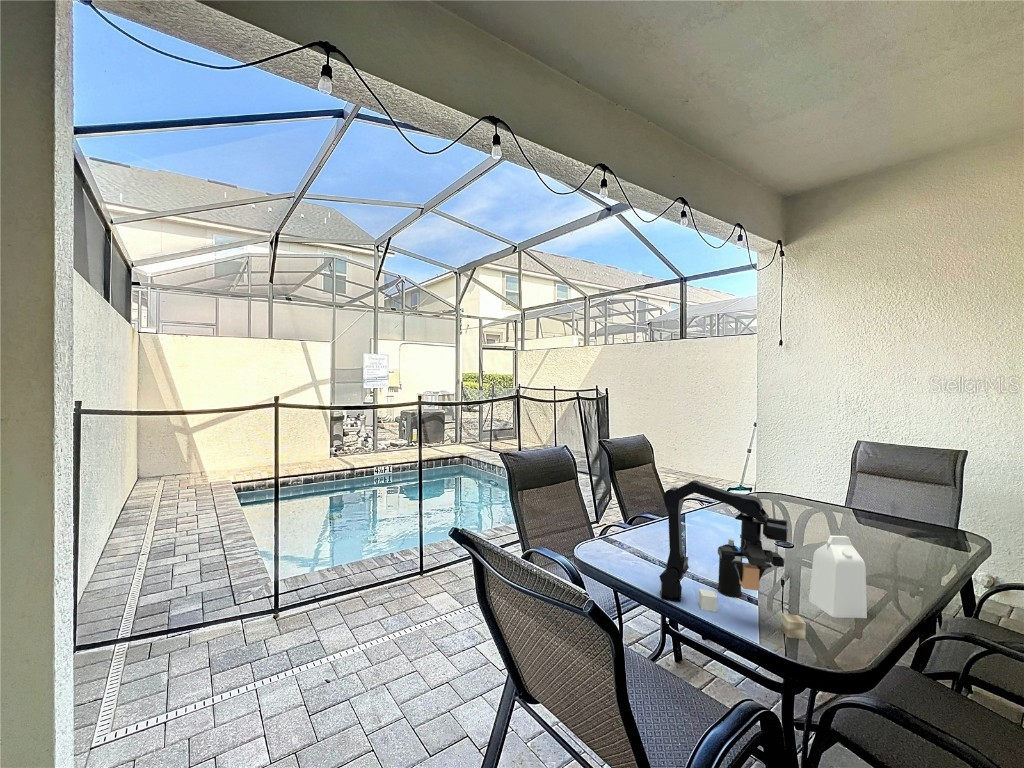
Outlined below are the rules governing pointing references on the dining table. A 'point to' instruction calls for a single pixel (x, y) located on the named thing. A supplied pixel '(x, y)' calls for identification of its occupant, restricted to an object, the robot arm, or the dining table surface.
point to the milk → (839, 579)
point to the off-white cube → (708, 600)
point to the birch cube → (793, 626)
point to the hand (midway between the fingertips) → (748, 581)
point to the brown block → (750, 577)
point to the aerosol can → (729, 575)
